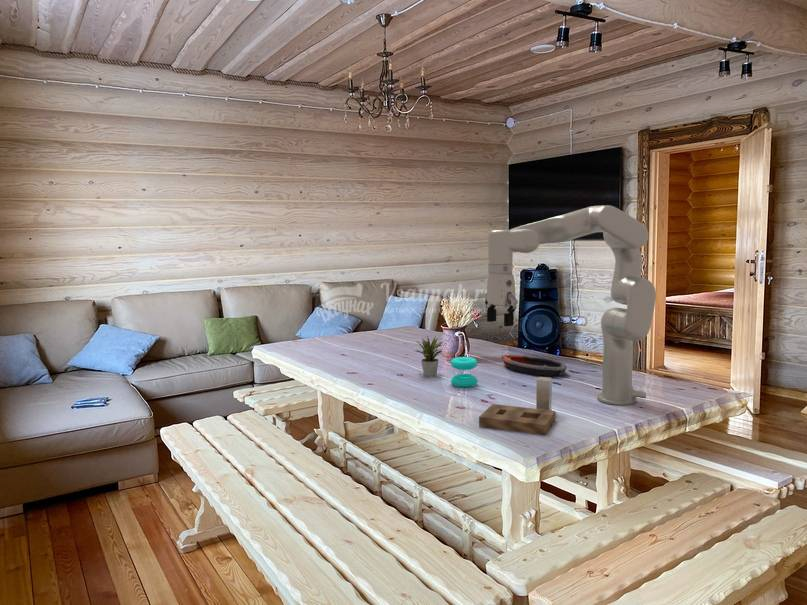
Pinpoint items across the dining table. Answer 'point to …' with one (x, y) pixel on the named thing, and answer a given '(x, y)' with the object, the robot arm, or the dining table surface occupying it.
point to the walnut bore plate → (517, 419)
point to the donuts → (464, 379)
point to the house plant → (430, 356)
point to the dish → (534, 365)
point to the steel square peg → (544, 393)
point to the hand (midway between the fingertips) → (500, 323)
